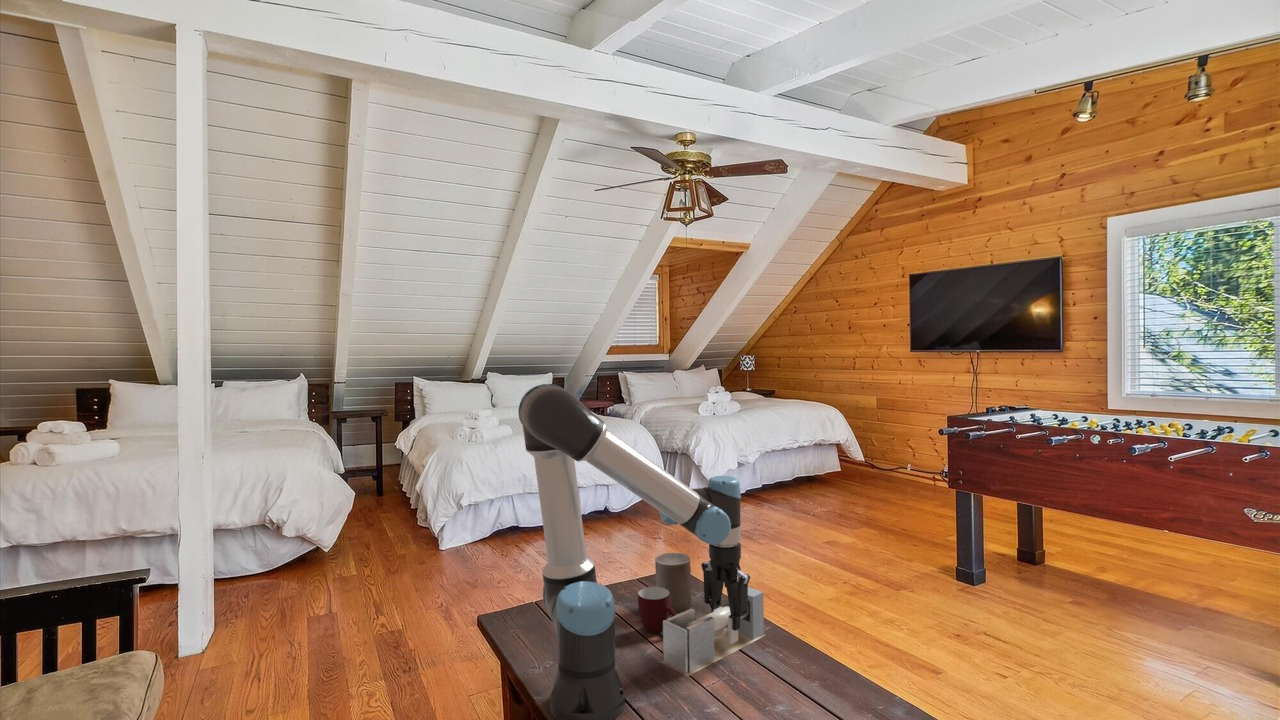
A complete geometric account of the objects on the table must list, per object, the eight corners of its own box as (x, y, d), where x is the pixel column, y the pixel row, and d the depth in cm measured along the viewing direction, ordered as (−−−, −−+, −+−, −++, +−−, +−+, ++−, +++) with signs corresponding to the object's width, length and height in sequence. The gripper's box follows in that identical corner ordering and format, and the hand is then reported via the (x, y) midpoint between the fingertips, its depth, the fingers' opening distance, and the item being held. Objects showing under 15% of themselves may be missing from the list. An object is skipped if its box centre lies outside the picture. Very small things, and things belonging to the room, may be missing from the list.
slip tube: (701, 646, 147) (700, 624, 147) (684, 638, 151) (684, 616, 151) (752, 621, 159) (751, 600, 159) (735, 614, 163) (735, 594, 163)
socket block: (753, 639, 158) (752, 597, 158) (731, 629, 163) (730, 588, 163) (763, 634, 161) (763, 592, 160) (741, 624, 166) (741, 584, 165)
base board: (687, 680, 142) (687, 676, 142) (660, 665, 148) (660, 662, 148) (766, 638, 160) (765, 635, 160) (739, 627, 167) (739, 623, 167)
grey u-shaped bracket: (685, 674, 143) (685, 631, 142) (663, 662, 148) (663, 620, 148) (714, 659, 149) (713, 618, 148) (692, 648, 154) (691, 608, 154)
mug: (684, 630, 165) (684, 592, 164) (670, 644, 158) (669, 604, 158) (648, 622, 170) (647, 584, 170) (632, 635, 163) (631, 595, 163)
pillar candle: (697, 604, 180) (696, 551, 180) (681, 618, 172) (679, 562, 171) (667, 598, 185) (665, 545, 185) (649, 611, 177) (647, 556, 177)
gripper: (763, 547, 152) (764, 645, 153) (709, 530, 164) (709, 621, 166) (742, 555, 147) (743, 657, 148) (687, 537, 159) (689, 631, 161)
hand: (725, 638), depth 157 cm, fingers closed on slip tube, 4 cm apart
